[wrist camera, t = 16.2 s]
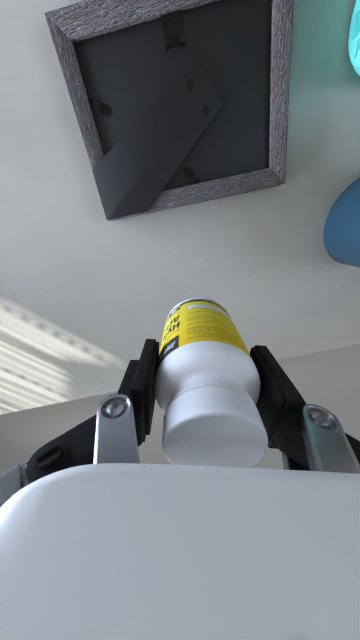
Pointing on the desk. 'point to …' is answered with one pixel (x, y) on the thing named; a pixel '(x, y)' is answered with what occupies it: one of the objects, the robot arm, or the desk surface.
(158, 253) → the desk surface
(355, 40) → the decorative dice
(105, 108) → the picture frame
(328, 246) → the travel mug
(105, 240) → the desk surface
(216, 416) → the supplement bottle
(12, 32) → the desk surface
